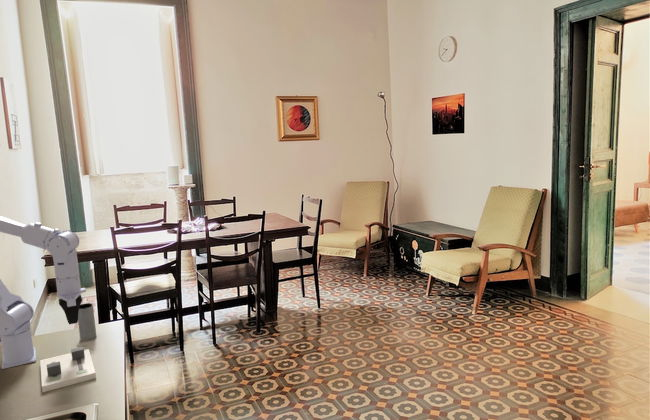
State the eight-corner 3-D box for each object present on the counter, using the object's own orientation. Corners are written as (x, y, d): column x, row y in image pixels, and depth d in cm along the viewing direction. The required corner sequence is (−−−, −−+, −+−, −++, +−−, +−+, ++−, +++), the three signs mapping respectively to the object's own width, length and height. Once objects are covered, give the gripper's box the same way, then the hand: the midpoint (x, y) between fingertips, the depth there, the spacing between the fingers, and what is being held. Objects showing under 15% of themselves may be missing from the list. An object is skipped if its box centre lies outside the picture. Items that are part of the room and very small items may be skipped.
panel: (40, 365, 132) (40, 359, 132) (89, 353, 138) (88, 348, 138) (42, 392, 119) (41, 386, 118) (96, 378, 125) (95, 372, 124)
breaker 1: (47, 373, 124) (46, 364, 124) (60, 370, 126) (59, 361, 125) (48, 376, 122) (46, 367, 122) (61, 373, 124) (60, 364, 123)
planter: (90, 341, 146) (86, 309, 144) (76, 340, 147) (72, 308, 145) (99, 334, 150) (96, 303, 149) (86, 333, 151) (83, 302, 149)
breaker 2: (71, 357, 132) (70, 349, 132) (84, 354, 134) (83, 346, 133) (72, 360, 131) (71, 352, 130) (84, 357, 132) (83, 349, 132)
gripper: (86, 280, 128) (91, 328, 130) (81, 266, 140) (86, 311, 142) (55, 285, 124) (61, 335, 127) (53, 271, 136) (59, 316, 139)
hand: (73, 322), depth 134 cm, fingers closed
